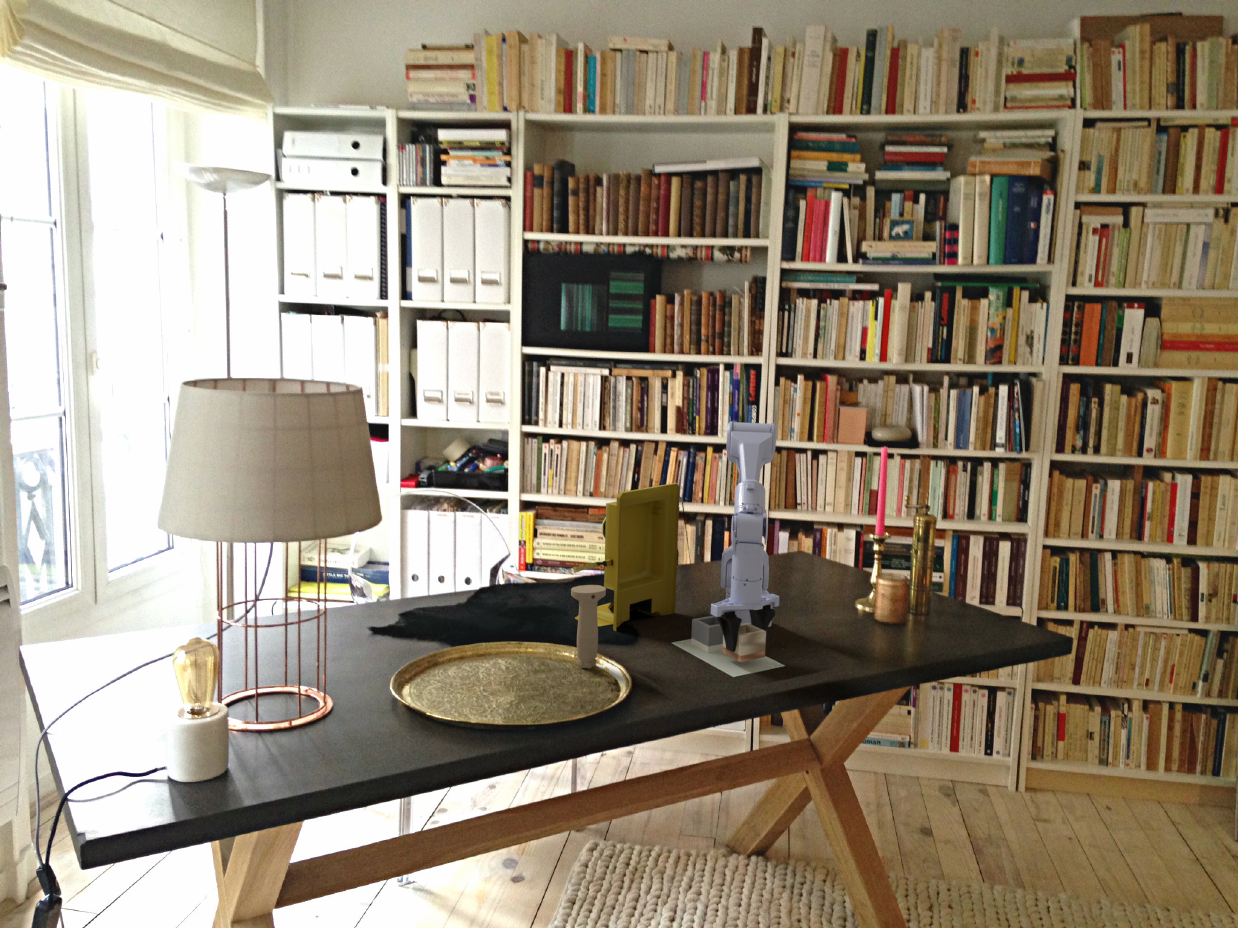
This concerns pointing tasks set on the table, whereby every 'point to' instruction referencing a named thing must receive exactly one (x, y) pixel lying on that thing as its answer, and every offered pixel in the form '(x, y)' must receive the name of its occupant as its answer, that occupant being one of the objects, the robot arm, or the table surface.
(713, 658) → the pin board
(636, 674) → the table surface
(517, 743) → the table surface
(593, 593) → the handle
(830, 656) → the table surface
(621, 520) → the yellow recessed panel
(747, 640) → the birch sleeve
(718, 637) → the charcoal sleeve
